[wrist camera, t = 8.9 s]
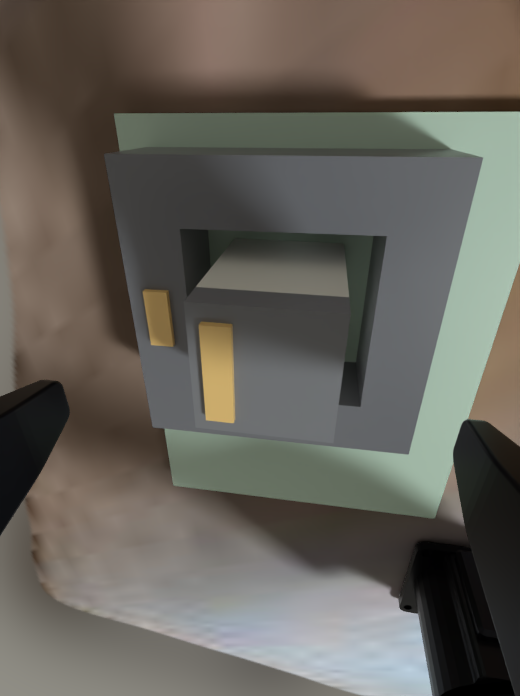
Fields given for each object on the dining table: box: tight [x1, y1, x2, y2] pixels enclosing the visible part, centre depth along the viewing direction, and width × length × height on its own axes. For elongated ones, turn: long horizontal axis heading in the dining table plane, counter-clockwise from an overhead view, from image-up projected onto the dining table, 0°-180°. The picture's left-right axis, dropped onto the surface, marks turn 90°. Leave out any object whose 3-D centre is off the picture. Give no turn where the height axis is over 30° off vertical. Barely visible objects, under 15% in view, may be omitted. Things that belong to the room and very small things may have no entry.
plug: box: [184, 238, 351, 443], centre depth 13 cm, size 4×4×6 cm
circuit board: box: [114, 112, 520, 519], centre depth 17 cm, size 18×14×1 cm
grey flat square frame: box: [104, 147, 483, 455], centre depth 14 cm, size 10×10×3 cm
